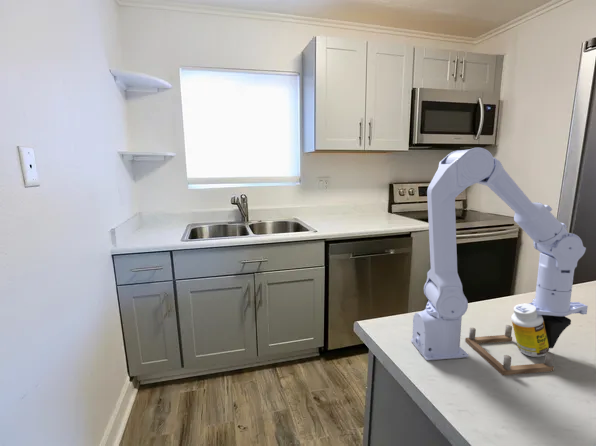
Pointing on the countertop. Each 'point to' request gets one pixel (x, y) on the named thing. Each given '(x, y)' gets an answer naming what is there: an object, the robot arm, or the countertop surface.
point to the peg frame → (506, 367)
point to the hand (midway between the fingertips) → (547, 345)
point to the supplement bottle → (530, 331)
